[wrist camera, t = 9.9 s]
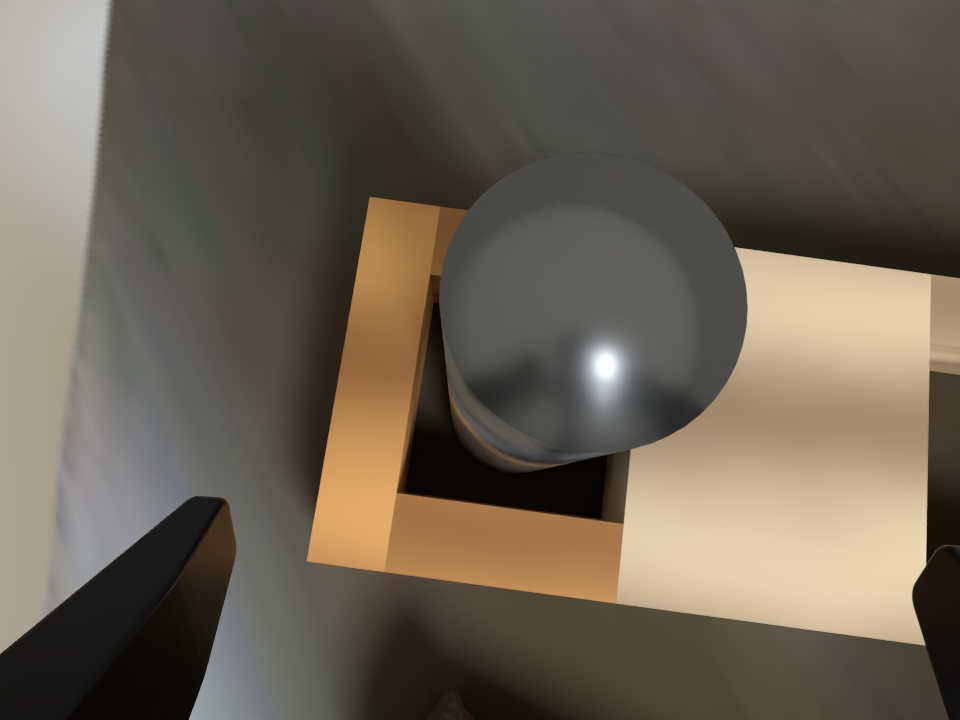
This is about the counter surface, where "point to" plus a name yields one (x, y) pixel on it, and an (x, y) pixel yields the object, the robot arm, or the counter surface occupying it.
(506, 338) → the steel peg
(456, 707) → the brown rough long piece
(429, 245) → the rail board
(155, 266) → the counter surface
